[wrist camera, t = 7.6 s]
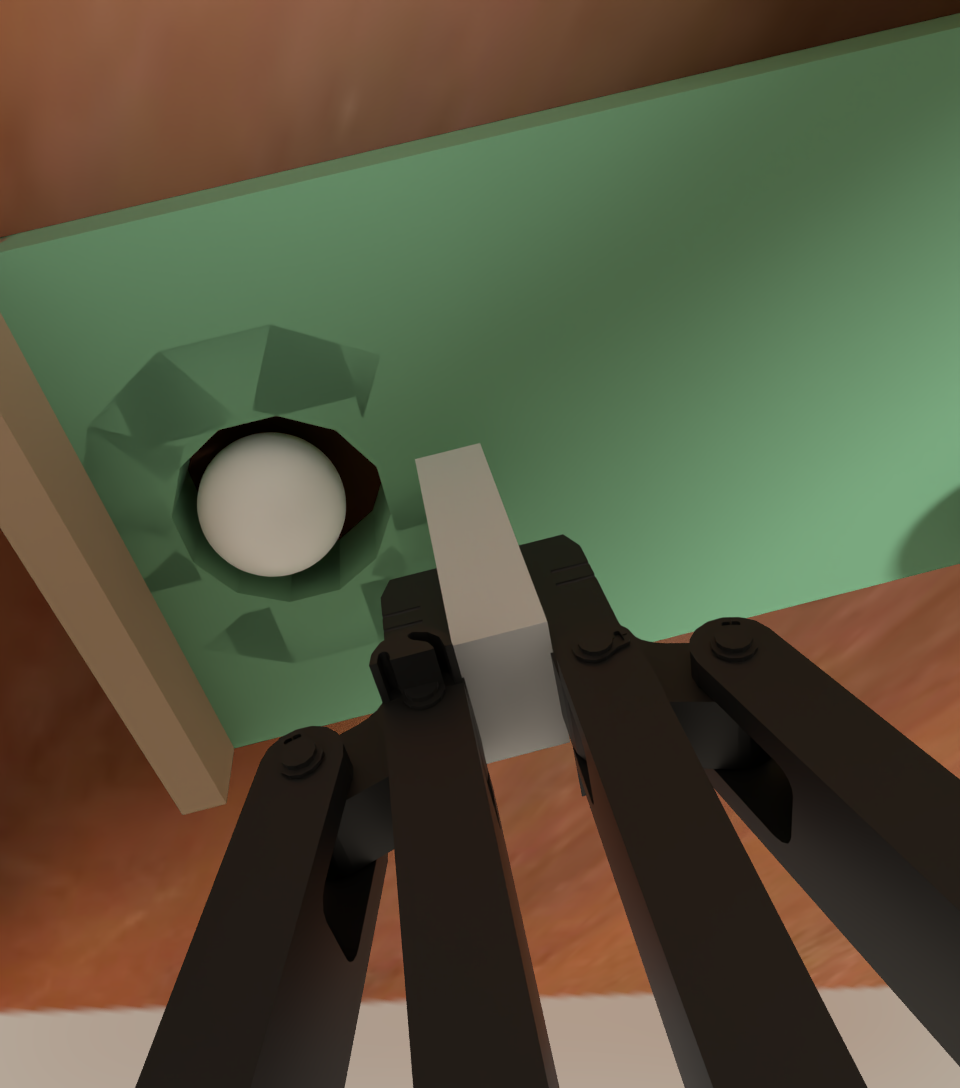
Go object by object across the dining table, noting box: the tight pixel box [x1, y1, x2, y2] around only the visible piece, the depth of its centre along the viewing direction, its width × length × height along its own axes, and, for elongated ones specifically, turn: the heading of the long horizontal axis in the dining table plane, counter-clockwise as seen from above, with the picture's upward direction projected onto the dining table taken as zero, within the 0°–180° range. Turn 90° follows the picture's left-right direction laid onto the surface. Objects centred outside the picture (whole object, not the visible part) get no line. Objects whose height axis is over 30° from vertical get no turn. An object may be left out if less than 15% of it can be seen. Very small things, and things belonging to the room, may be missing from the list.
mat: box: [0, 13, 960, 815], centre depth 19 cm, size 14×28×4 cm, turn 101°
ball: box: [197, 432, 346, 577], centre depth 20 cm, size 4×4×4 cm
